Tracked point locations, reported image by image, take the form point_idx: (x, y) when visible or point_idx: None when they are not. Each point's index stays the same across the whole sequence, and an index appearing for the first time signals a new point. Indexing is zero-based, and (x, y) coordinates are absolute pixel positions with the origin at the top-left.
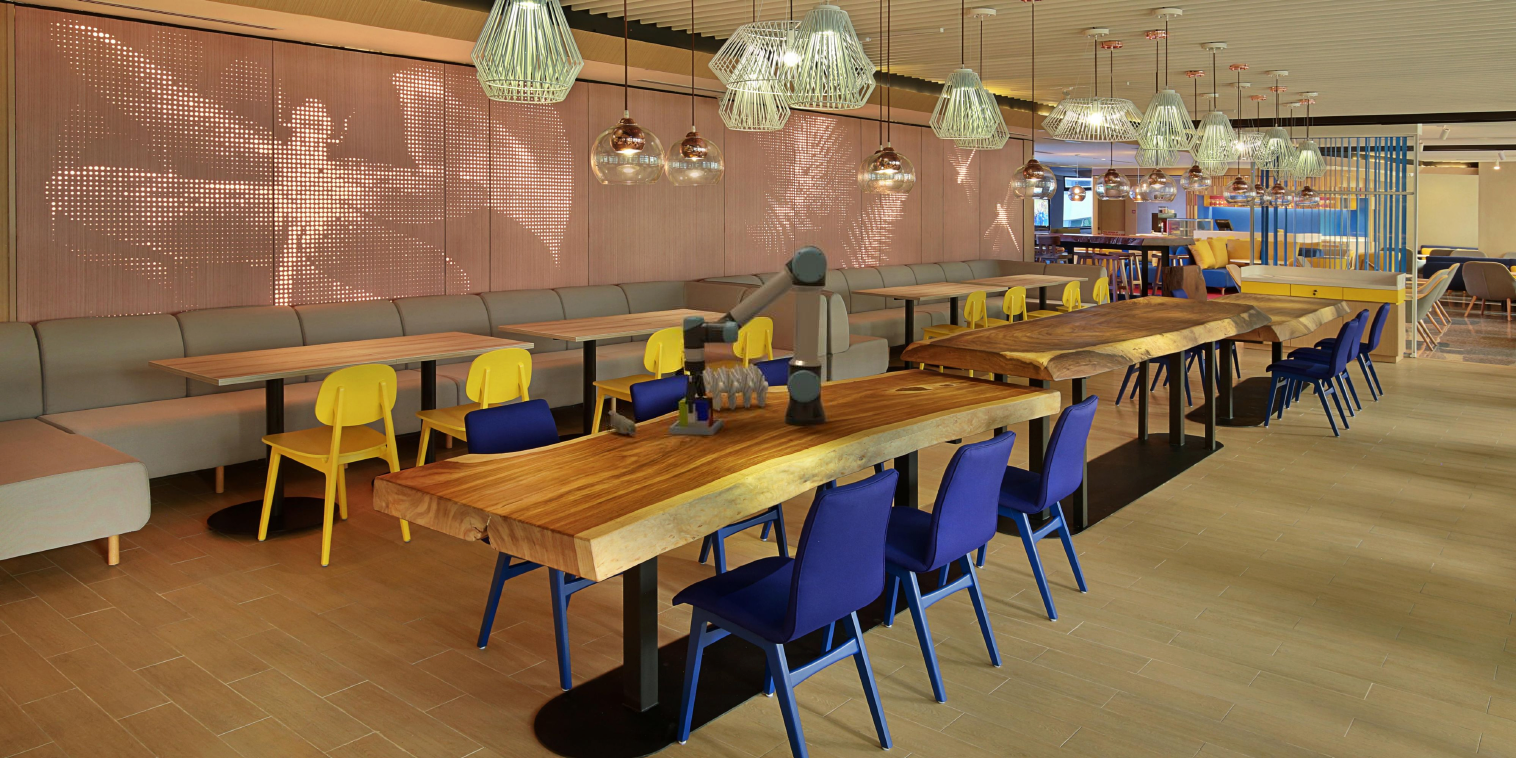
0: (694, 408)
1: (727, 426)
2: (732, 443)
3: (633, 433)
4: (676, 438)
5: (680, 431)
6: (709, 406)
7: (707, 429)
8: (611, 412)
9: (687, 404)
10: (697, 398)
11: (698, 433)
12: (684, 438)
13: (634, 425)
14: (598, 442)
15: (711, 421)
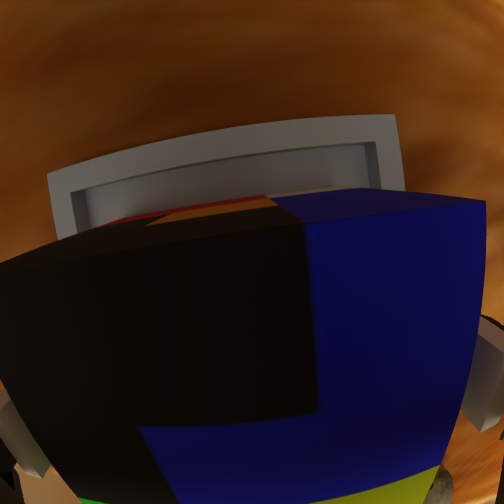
0: (488, 325)
1: (85, 133)
2: (482, 9)
3: (443, 467)
4: None
5: None
6: (212, 218)
7: (397, 159)
8: None
9: (496, 417)
10: (134, 475)
11: None
12: None
13: (445, 490)
14: (477, 477)
15: (166, 212)
